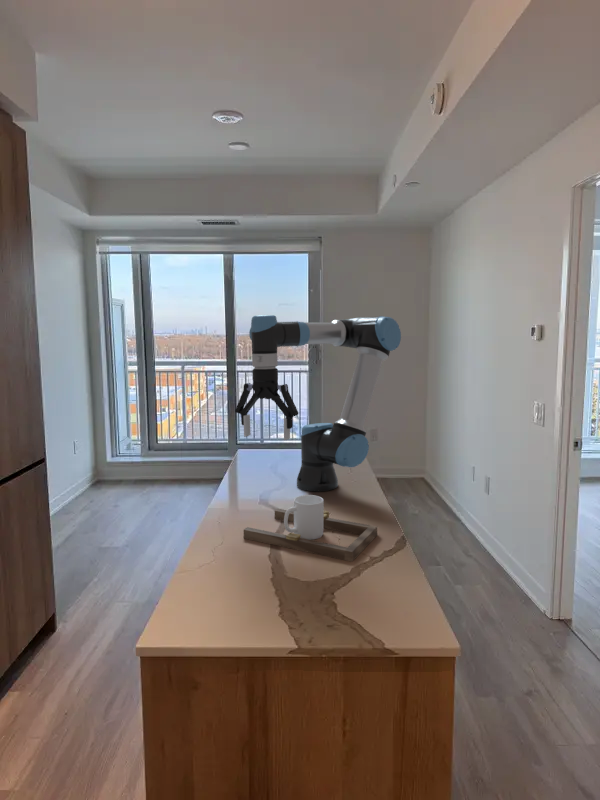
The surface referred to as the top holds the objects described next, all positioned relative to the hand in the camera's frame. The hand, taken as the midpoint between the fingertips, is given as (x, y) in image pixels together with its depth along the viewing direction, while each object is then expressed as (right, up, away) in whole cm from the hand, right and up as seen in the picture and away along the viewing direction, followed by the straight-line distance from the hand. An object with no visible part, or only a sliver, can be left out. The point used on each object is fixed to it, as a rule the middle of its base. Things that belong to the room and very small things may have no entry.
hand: (266, 437), depth 159 cm
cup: (+11, -27, -13) cm, 32 cm away
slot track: (+14, -26, -12) cm, 32 cm away
